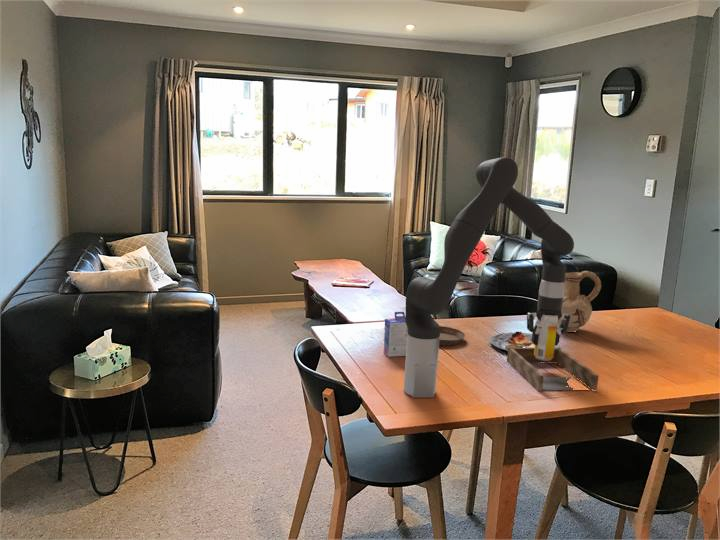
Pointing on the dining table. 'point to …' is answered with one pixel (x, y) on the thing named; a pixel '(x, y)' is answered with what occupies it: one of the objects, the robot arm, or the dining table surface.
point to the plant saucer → (450, 336)
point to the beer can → (546, 338)
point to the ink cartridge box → (395, 336)
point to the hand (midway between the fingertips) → (544, 344)
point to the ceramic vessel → (578, 299)
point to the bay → (521, 364)
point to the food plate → (513, 340)
